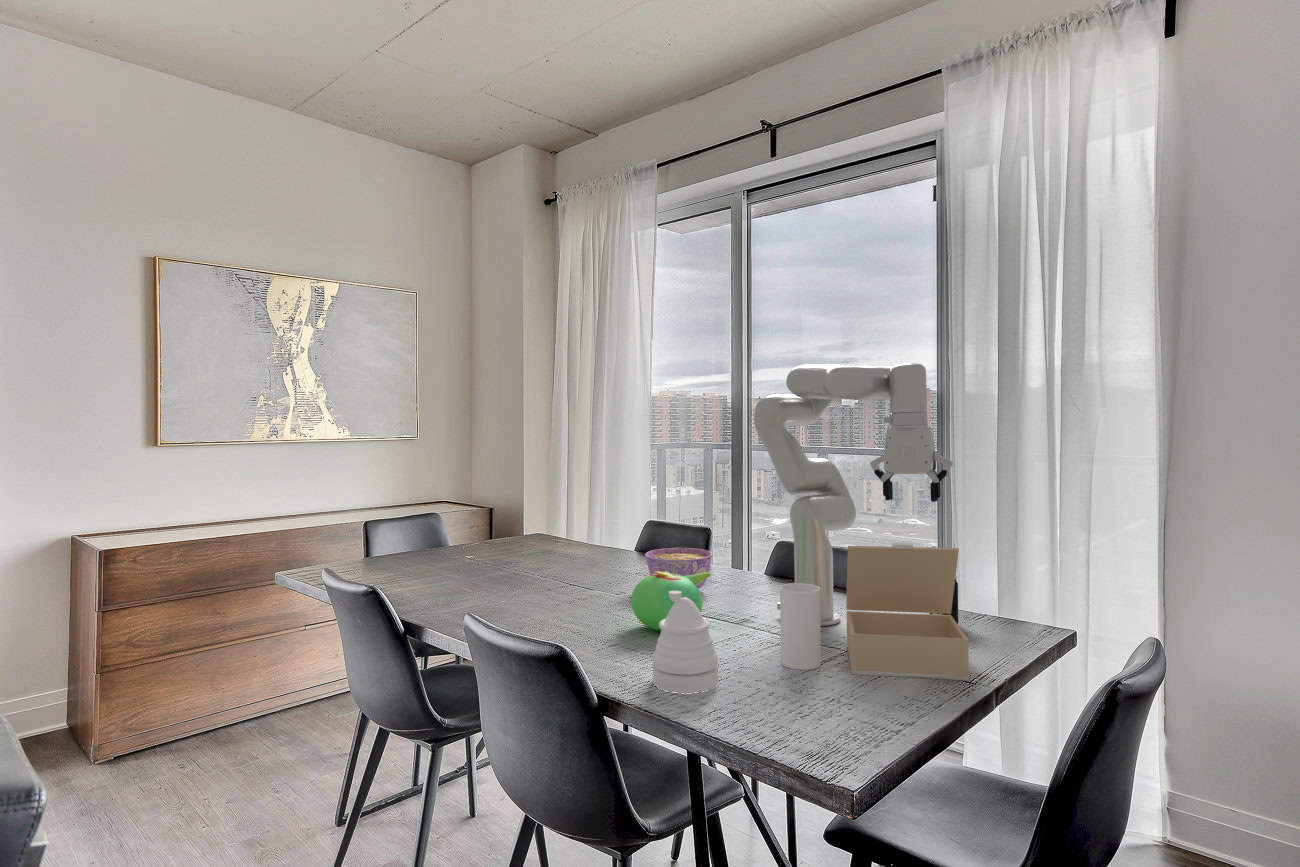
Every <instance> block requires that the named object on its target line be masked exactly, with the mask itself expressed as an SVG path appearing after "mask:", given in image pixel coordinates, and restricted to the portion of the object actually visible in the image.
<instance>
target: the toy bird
mask: <svg viewBox="0 0 1300 867" xmlns="http://www.w3.org/2000/svg"><path fill="white" fill-rule="evenodd" d="M655 573H656V574H652V575H650V574H649V575H647V576H645V577H644V578H642V579H641V580H640V581H638V583H636V586H635V587H634V589H633V591H632V594H631V600H630V602H631V603H630V604H631V609H632V611H633V615H634V616H635V618H636V619H637V620H638V621H639V622H640V623H641V624H643V625H644V626H646V627H648V628H650V629H653V630H655V631H659V632H661V631H662V630H661V629H660V628H659V623H660V621H661V620H663V619H666V617H667V615H668V613H669V611H670V609H671V608H672V606H673V605H674V604H675V602H673V601H672V600H671V599H670V597H669V591H681V592H682V596H681V598H682V597H687V598H689V599H690V600H691V601H693V602H694V604H695V605H696V606H697V608H698V609H699V611H700V613H701V614H702V611H703V597H702V593H701V591H700V588H699V589H698V587H697V586H696V584H698V583H699V582H701V581H703V580H704V579H706V578H707V579H708V578H709V577H710V576H712V573H711V572H708V573H699V574H694V575H689V576H681V575H679V574H674V573H669V572H667V571H665V572H659V571H655Z"/></svg>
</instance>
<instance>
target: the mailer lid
mask: <svg viewBox="0 0 1300 867" xmlns="http://www.w3.org/2000/svg"><path fill="white" fill-rule="evenodd" d="M958 559H959V547H934V546H932V547H930V546H929V547H928V546H927V547H926V546H925V547H924V546H923V547H922V546H914V544H913V542H908V543H907V542H892V544H891V546H883V545H882V546H880V545H878V546H876V545H875V546H874V545H847V562H846V564H847V565H846V566H847V568H846V569H847V570H846V571H847V572H846V573H847V574H846V609H845V610H846V611H864V612H889V613H915V614H929V613H942V614H951V610H952V602H953V593H954V585H955V577H956V578H957V566H958Z"/></svg>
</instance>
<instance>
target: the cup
mask: <svg viewBox="0 0 1300 867" xmlns="http://www.w3.org/2000/svg"><path fill="white" fill-rule="evenodd" d="M779 602H780V610H779V611H780V615H779V616H780V617H779V618H780V664H781V665H783V666H784V667H786V668H788V669H791V670H792V669H794V670H798V671H799V670H801V671H809V670H810V671H811V670H814V669H817V668H819V667H821V665H822V662H821V661H822V660H821V659H822V655H821V654H822V652H821V651H822V649H821V639H822V638H821V634H822V633H821V632H822V631H821V626H820V587H818V586H816V585H812V584H805V583H795V582H792V583H791V582H790V583H785V584H781V585H780V588H779Z"/></svg>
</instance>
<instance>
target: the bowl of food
mask: <svg viewBox="0 0 1300 867" xmlns="http://www.w3.org/2000/svg"><path fill="white" fill-rule="evenodd" d="M644 556H645V560H646V564H647V569H648V573H649V575H652V574H656V573H655V571H659V572H665V571H667V572H669V573H674V574H679V575H681V576H689V575H694V574H699V573H710V572H709V571H710V567H711V563H712V557H713V553H712V552H711V551H709V550H707V549H703V548H702V549H701V548H693V547H691V548H690V547H668V548H659V549H653V550H652V549H651V550H649V551H647V552H645V553H644ZM707 580H708V578H706V579H704V580H703V581H701V582H699V583H698V584H696V586H697V587H698V589H699V590H700V589H701V588H702V587H703V586H705V584H706V581H707Z"/></svg>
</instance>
